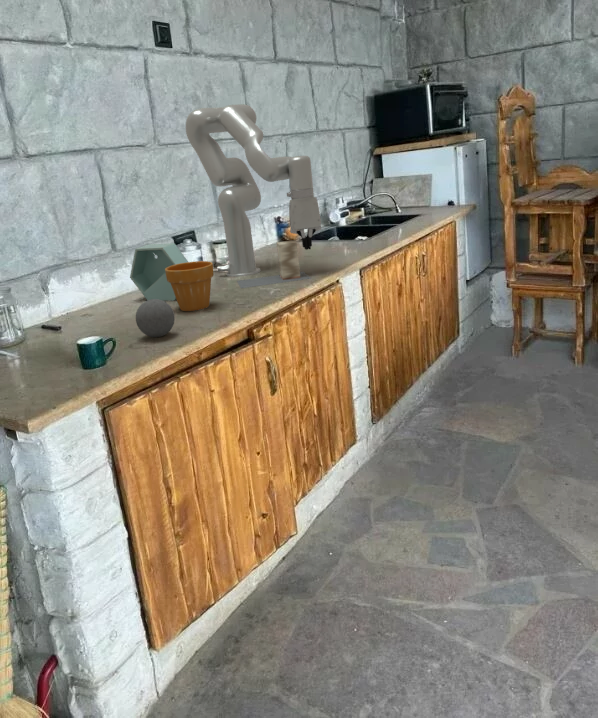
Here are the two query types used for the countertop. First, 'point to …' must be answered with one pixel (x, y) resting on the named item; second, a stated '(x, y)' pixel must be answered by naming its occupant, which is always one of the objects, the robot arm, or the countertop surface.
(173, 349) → the countertop surface
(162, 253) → the planter
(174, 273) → the flower pot
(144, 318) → the decorative ball
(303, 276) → the slate mat
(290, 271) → the birch block
